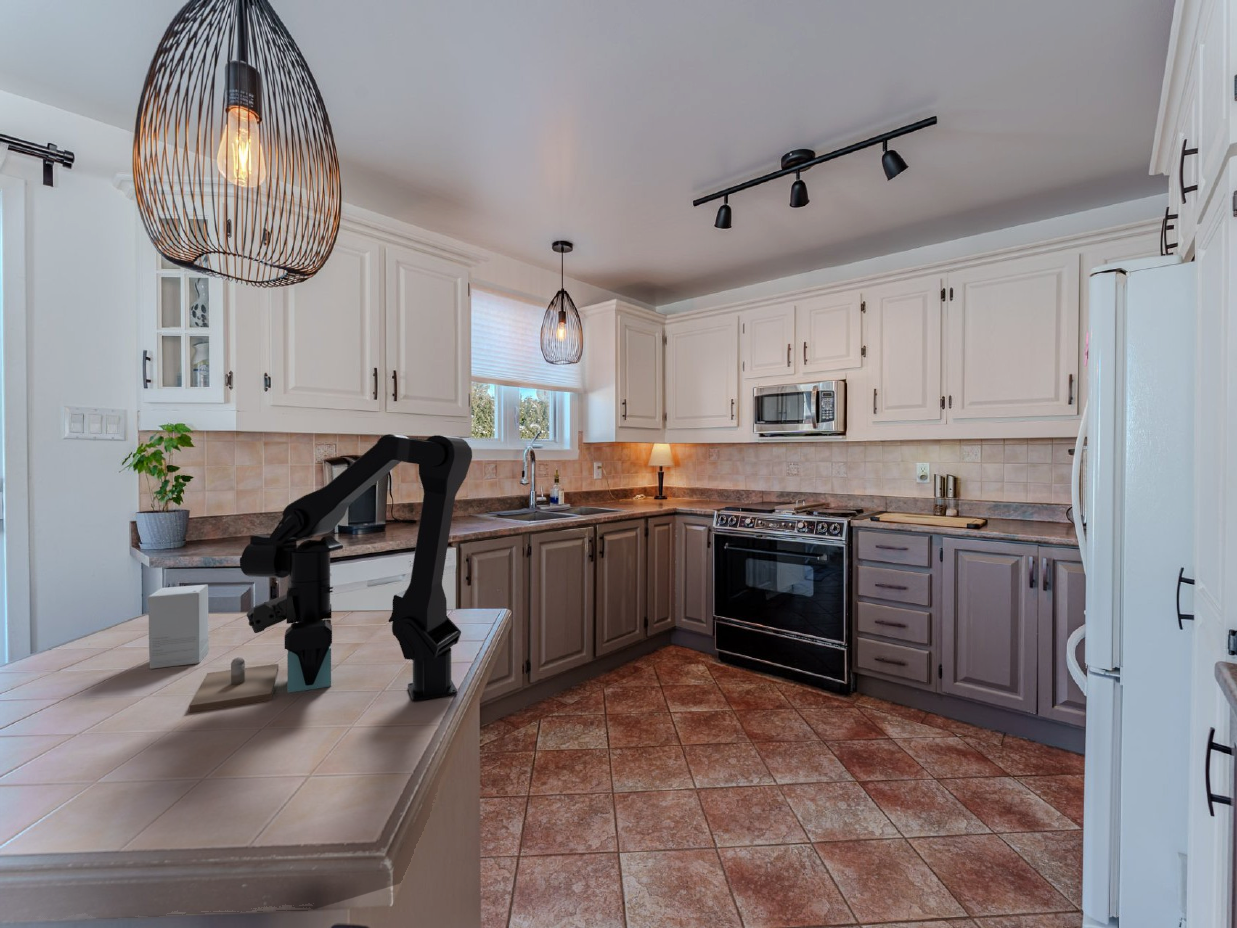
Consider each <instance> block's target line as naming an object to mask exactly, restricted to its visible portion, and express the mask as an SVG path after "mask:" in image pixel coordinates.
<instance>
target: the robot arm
mask: <svg viewBox="0 0 1237 928" xmlns="http://www.w3.org/2000/svg"><path fill="white" fill-rule="evenodd" d="M472 459H473V451H472V447H471V446H470V445H469V444H468V442H467V441H466V440H465V439H464V438H461V437H458V436H451V435H450V436H449V435H441V434H440V435H439V434H438V435H436V434H435V435H432V436H428V437H427V438H426V439H423V438H414V437H407V436H406V435H402V434H392V433H391V434H390V433H389V434H384V435H383V436H381V437H380V438H379V439H378V440H377V441H376V443H375V444H374V445H373V446H372V447H370V448H369V449H368V450H367V451H365V453H364V454H362V455H360V457H359V458H357V459H356V460H355V461H354V462H353V463H352V464H350V465H349V466H348V467H347V468H345V469H344V470H343V471H342V472H341V473H339V474H338V476H336V477H335V478H334V479H332V480H331V481H330V482H329V483H327V484H325V486H323V487H321V488H320V489H317V490H315V491H312V492H310V493H308V494H307V493H306V494H305V495H303V496H302V497H299V498H298V499H296V500H295V501H292V502H291V503H289V504H287V505H286V507H285V508H283V511H282V513H281V515H282V518H281V520H280V521H279V522H278V524H277V525H276V527H275V529H274V530H273V531H272V533H271V534H270V535H269V534H264V533H263V534H262V533H261V534H254V535H251V536H250V539H249V540H250V541H249V542H250V543H249V544H247V545H246V547H245V548H244V550H243V551H242V553H241V557H240V558H239V566H240V570H241V571H242V573H243V575H244V576H246V577H251V578H252V577H254V578H275V579H276V578H278V579H280V578H281V579H285V578H287V577H288V576H289V586H288V587H287V591H286V594H283V595H282V596H278V597H275V598H272V599H271V600H268V601H265V602H262V603H260V604H258V605H255V606H253V607H251V608H250V609H248V611H247V613H246V617H247V619H248V625H249V626H250V627H251V629H252V631H253V633H254V634H259V633H261V632H264V631H265V630H266V629H267V628H270V627H272V626H274V625H277V624H279V623H282V622H283V621H284V622H285V620H286V624H290V626H288V627H287V628H286V630H285V633H284V650H286V651H287V652H288V651H290V652H293V653H294V654H296V655H297V656H298V658H299V662H300V666H301V669H302V673H303V677H304V681H305V685H306V686H308V685H313V684H314V682H315V680H316V677H317V675H318V673H319V670H320V668H321V665H322V663H323V661H324V659H325V656H326V654H327V652H328V649H329V647H330V646H331V647H332V643H333V625H332V620H331V619H332V604H331V552H336V551H340V550H343V549H344V545H343V544H341V542H340V541H338V540H336V538H334V536H333V535H327V534H328V533H330V532H332V531H333V530H334V529H335V527H337V525H338V524H339V523H340V522H341V521H342V519H343V518H344V517H345V515H346V513H347V511H348V507H350V506H351V504H353V502H354V501H356V500H357V499H358V498H359V497H360V496H361V495H363V494H364V493H365V492H366V491H367V490H369V489H370V488H371V487H372V486H374V485H375V484H376V483H378V481H380V480H381V479H382V478H384V476H386V475H387V474H388V473H390V471H392V470H393V469H394V468H395V467H397V466H398V465H399V464H400V463H401V462H402V463H409V464H415V465H418V475H419V480H420V483H421V485H422V489H423V498H422V506H421V511H420V518H419V522H418V523H419V524H418V531H417V537H416V542H415V548H414V549H415V551H414V554H413V555H414V557H413V563H412V569H411V576H410V580H409V581H410V582H409V585H408V586H407V588H406V589H405V590H404V591H401V592H399V593H397V594H394V595H393V598H392V610H391V611H392V612H391V616H390V617H389V618H388V623H391V632H392V635H393V636H395V639H396V640H397V641H398V644H399V647H400V650H401V652H402V654H403V658H404V660H409V661H410V660H412V682H410V683H408V684H407V689H408V691H409V695H410V698H411V700H412V701H413V702H418V701H423V700H430V699H435V698H440V697H446V696H452V695H457V694H458V689H457V688H456V685H455V684H454V681H452V647H453V646H455V645H457V644H458V643H459V640H460V637H461V634H462V631H461V629H459V627H458V626H457V625H456V624H455V623H454V622H453V621H452V620H451V619H450V618H449V616H448V615H447V610H448V609H447V604H448V602H447V597H446V593H445V591H444V587H443V579H444V577H443V576H444V573H445V571H444V570H445V567H446V566H445V564H446V559H447V558H446V557H447V552H448V545H449V539H450V533H451V526H452V521H453V520H452V519H453V515H454V513H453V512H454V507H455V500H456V496H457V494H458V492H459V490H460V488H461V487H462V485H463V483H464V482H465V480H466V478H467V474H468V472H469V469H470V466H471V463H472ZM325 534H326V535H327V536H322V537H321V539H313V538H314V537H316V536H320V535H325ZM301 541H302V542H301ZM297 542H300V544H297Z"/></svg>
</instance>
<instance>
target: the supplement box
mask: <svg viewBox="0 0 1237 928" xmlns="http://www.w3.org/2000/svg"><path fill="white" fill-rule="evenodd" d="M147 601H148V602H147V603H148V604H147V605H148V653H149V654H148V655H149V656H148V657H149V670H153V669H159V668H160V669H162V668H168V667H177V666H179V667H180V666H185V665H195V664H200V663H201V661H202V660H203V659H204V658H205V657H206V656H207V654H208V653H209V651H210V640H209V639H210V637H209V635H210V633H209V632H210V631H209V629H210V628H209V626H210V625H209V624H210V623H209V621H210V620H209V619H210V618H209V584H198V585H185V586H183V585H181V586H171V587H170V586H169V587H168V586H167V587H161V588H159V589H158V590H156V591H155V592H153V593H151V594H150V595H148V596H147Z"/></svg>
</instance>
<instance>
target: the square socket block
mask: <svg viewBox="0 0 1237 928" xmlns="http://www.w3.org/2000/svg"><path fill="white" fill-rule="evenodd" d="M286 658H287V694H289V693H294V692H295V693H296V692H302V691H307V690H308V691H310V690H315V689H321V688H328V687H332V645H331V646H330V647H329V649H328V652H327V654H326V656H325V659H324V661H323V663H322V665H321V668H320V670H319V673H318V675H317V677H316V680H315V682H314V684H313V685H308V686H306V685H305V681H304V677H303V673H302V669H301V666H300V662H299V658H298V656H297V655H296V654H294V653H293V652H290V651H288V650H287V657H286Z"/></svg>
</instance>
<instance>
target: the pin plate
mask: <svg viewBox="0 0 1237 928" xmlns="http://www.w3.org/2000/svg"><path fill="white" fill-rule="evenodd" d="M278 672H279V663H274V664H265V665H258V666H252V667H251V666H250V667H246V662H245V659H244V658H243V657H236V658H234V659H232V661H231V663H230V669H228V670H222V671H213V672H207V673H206V675H205V677H204V678H203V681H202V682H201V684H200V686H199V687H198V689H197V691H196V693H195V695H194V696H193V697H192V700H191V702H190V703H189V705H188V711H189V712H188V713H196V712H203V711H209V710H214V709H221V708H228V707H234V706H241V705H247V704H254V703H260V702H267V701H271V700H272V698H273V694H274V690H275V686H276V682H277V681H276V680H277V678H278Z"/></svg>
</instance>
